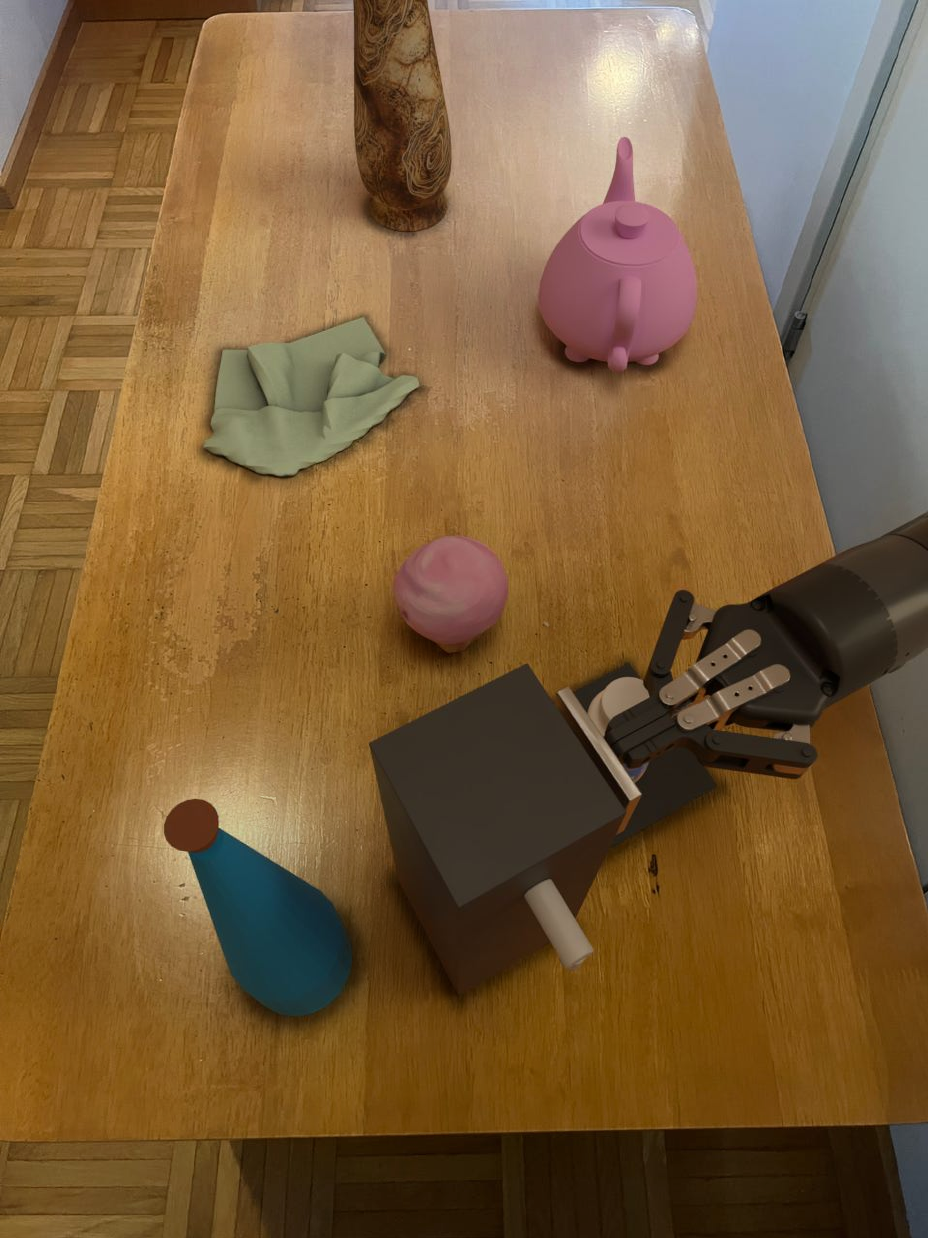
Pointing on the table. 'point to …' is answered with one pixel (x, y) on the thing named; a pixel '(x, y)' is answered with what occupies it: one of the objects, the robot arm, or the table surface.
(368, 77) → the vase
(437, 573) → the cupcake
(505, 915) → the soap dispenser
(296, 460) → the cloth
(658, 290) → the teapot
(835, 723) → the table surface
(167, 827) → the bottle
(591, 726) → the plate
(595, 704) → the pill bottle
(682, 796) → the mat
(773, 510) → the table surface
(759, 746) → the robot arm
